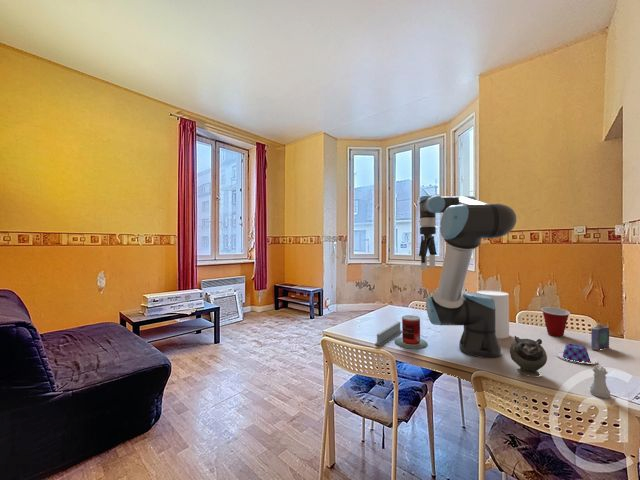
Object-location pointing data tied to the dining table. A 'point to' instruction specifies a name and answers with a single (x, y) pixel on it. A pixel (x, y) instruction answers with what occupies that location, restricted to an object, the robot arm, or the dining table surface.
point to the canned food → (411, 329)
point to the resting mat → (417, 346)
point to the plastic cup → (555, 320)
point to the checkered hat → (576, 353)
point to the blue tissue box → (599, 337)
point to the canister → (499, 311)
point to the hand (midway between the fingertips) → (428, 268)
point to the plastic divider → (388, 334)
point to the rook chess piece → (600, 383)
